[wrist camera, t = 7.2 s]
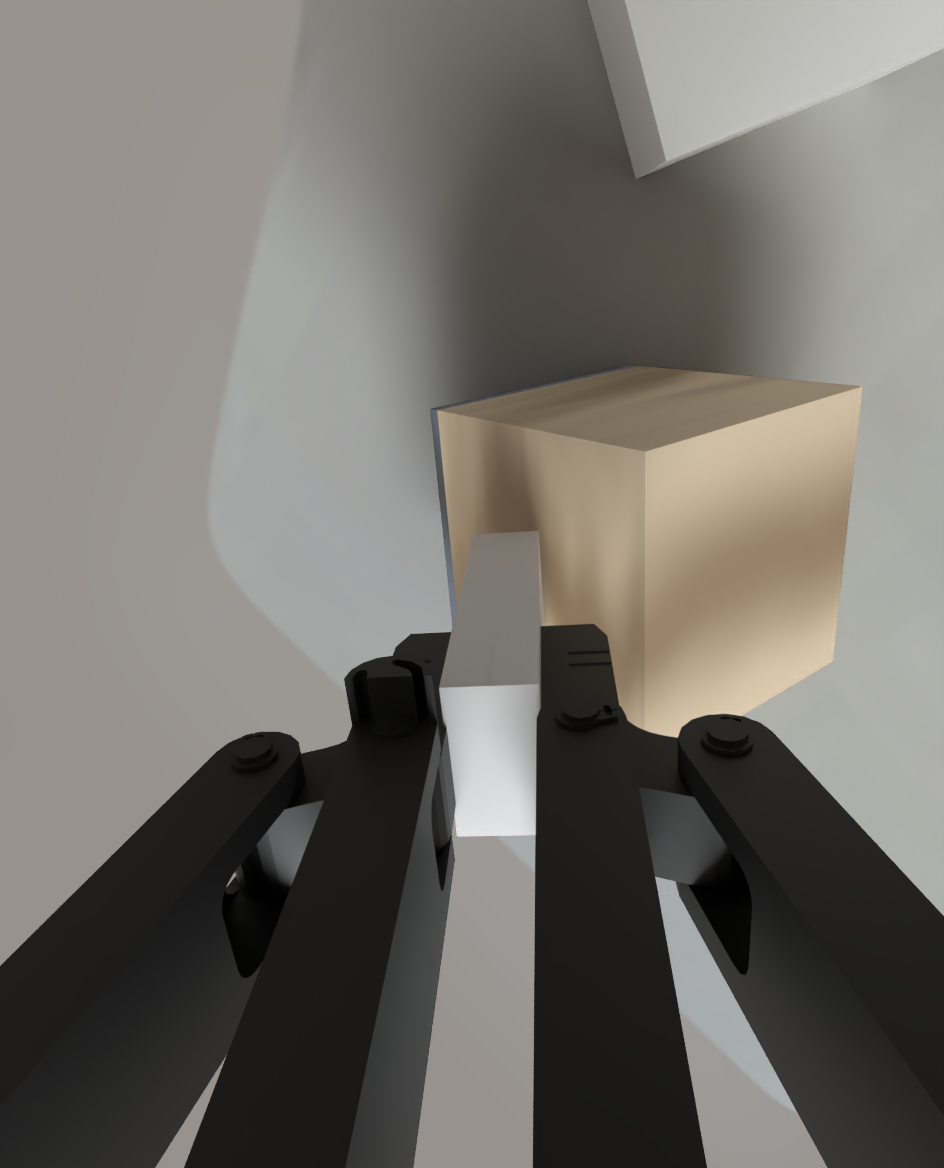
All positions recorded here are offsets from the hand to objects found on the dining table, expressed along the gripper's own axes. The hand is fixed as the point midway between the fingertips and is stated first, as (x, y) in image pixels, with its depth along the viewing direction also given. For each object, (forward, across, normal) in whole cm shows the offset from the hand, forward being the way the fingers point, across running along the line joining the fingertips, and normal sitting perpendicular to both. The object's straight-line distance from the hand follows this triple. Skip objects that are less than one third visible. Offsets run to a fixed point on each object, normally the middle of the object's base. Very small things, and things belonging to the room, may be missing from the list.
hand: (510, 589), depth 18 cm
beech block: (+6, +1, 0) cm, 6 cm away
